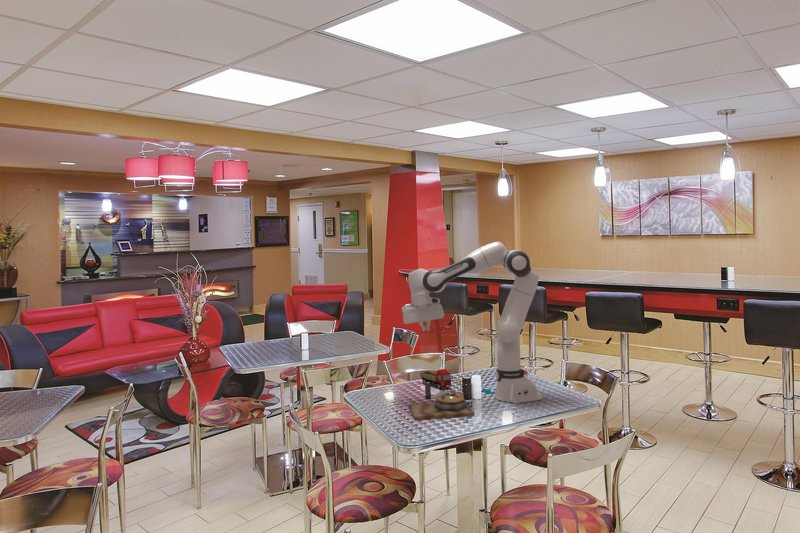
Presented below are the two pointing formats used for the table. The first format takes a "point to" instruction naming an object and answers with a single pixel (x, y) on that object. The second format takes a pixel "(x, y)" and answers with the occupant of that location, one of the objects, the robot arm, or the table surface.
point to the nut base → (440, 410)
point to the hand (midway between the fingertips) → (426, 330)
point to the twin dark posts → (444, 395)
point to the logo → (482, 388)
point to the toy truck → (437, 378)
